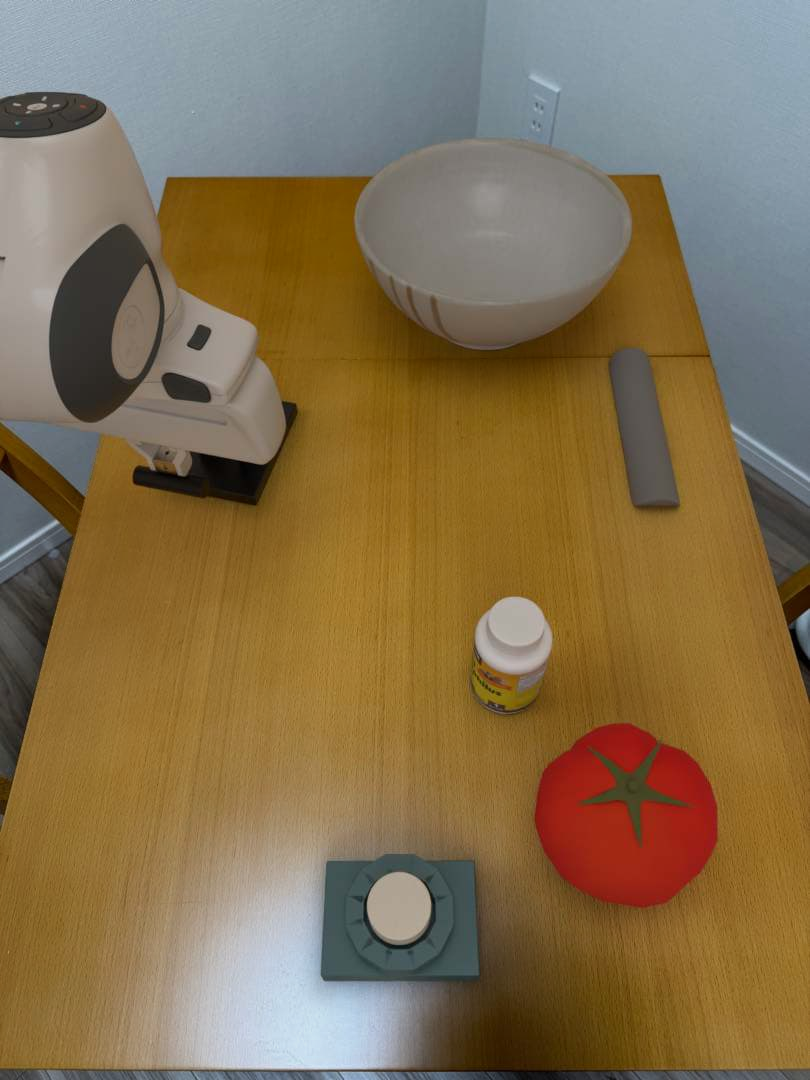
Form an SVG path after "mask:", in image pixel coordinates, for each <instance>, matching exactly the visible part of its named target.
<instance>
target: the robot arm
mask: <svg viewBox="0 0 810 1080" xmlns="http://www.w3.org/2000/svg"><path fill="white" fill-rule="evenodd" d="M162 245H163V235H162V231H161V226H160V223H159V219H158V216H157V212H156V209H155V206H154V202H153V199H152V197H151V194H150V190H149V188H148V185H147V182H146V179H145V177H144V174H143V172H142V169H141V166H140V163H139V162H138V159H137V157H136V154H135V152H134V149H133V147H132V145H131V143H130V141H129V139H128V136H127V135H126V132H125V131H124V129H123V127H122V124H121V123H120V121H119V120H118V118H117V117H116V115H115V113H114V112H113V111H112V109H111V108H110V107H109V106H108V105H107V104H106V103H105V102H103V101H101V100H99V99H97V98H93V97H91V96H89V95H87V94H84V93H77V92H65V91H64V92H63V91H30V92H29V91H25V92H24V93H18V94H15V95H7V96H4V97H1V98H0V421H5V422H6V421H9V422H31V423H32V422H33V423H41V424H45V425H52V426H57V427H62V428H68V429H73V430H78V431H82V432H83V431H84V432H88V433H92V434H98V435H104V436H109V437H114V438H120V439H123V440H124V441H125V443H126V444H127V445H128V446H129V447H131V448H132V449H133V450H134V451H135V452H137V454H139V455H140V456H142V457H143V458H144V459H146V462H147V464H148V467H150V469H151V470H153V471H160V472H166V473H170V474H174V475H179V476H184V477H185V476H186V475H187V473H188V471H189V469H190V468H191V465H192V458H191V455H190V452H189V451H193V452H198V453H203V454H208V455H214V456H219V457H224V458H229V459H235V460H240V461H245V462H250V463H255V464H261V465H263V464H266V463H267V462H269V461H270V460H271V459H272V458H273V457H274V456H275V454H276V453H277V451H278V449H279V447H280V445H281V442H282V440H283V437H284V434H285V430H286V420H285V415H284V410H283V406H282V402H281V401H282V398H281V396H280V395H281V394H280V392H279V389H278V385H277V383H276V380H275V378H274V376H273V374H272V372H271V370H270V368H269V367H268V366H267V364H266V363H265V361H263V360H262V359H261V358H260V357H259V356H257V355H256V352H257V349H258V346H259V343H260V338H259V332H258V330H257V328H256V326H255V325H254V324H253V323H251V322H250V321H248V320H246V319H244V318H242V317H239V316H237V315H234V314H232V313H230V312H227V311H225V310H222V309H221V308H218V307H216V306H213V305H211V304H209V302H205V301H204V300H202V299H200V298H198V297H197V296H194V295H193V294H192V293H190V292H188V291H187V290H184V289H183V288H180V287H178V284H177V281H176V279H175V277H174V275H173V273H172V272H171V270H170V269H169V267H168V266H167V264H166V263H165V260H164V259H163V254H162V247H163V246H162Z"/></svg>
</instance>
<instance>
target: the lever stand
mask: <svg viewBox="0 0 810 1080" xmlns="http://www.w3.org/2000/svg"><path fill="white" fill-rule="evenodd" d="M281 402H282V406H283V410H284V415H285V420H286V430H285V434H284V437H283V440H282V442H281V445H280V447H279V449H278V451H277V453H276V454H275V456H274V457H273V458H272V459H271V460H270V461H269V462H267V463H266V464H263V465H261V464H255V463H250V462H245V461H240V460H235V459H229V458H224V457H219V456H214V455H208V454H203V453H198V452H193V451H190V455H191V458H192V465H191V468H190V469H189V471H188V473H187V475H192V476H198V477H203V478H207V479H208V480H209V492H208V494H207V496H206V497H210V498H215V499H221V500H226V501H231V502H235V503H240V504H245V505H250V506H257V505H258V502H259V501H260V498H261V496H262V494H263V491H264V489H265V487H266V485H267V482H268V480H269V478H270V476H271V473H272V472H273V469H274V466H275V464H276V463H277V460H278V457H279V455H280V453H281V451H282V449H283V446H284V444H285V442H286V439H287V438H288V435H289V433H290V431H291V428H292V426H293V424H294V421H295V420H296V417H297V415H298V406H297V403H296V402H291V401H285V400H281Z"/></svg>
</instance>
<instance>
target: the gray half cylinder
mask: <svg viewBox="0 0 810 1080" xmlns="http://www.w3.org/2000/svg"><path fill="white" fill-rule="evenodd" d="M608 368H609V374H610V379H611V386H612V390H613V391H612V392H613V397H614V404H615V408H616V414H617V415H616V416H617V420H618V426H619V432H620V437H621V444H622V448H623V449H622V450H623V455H624V462H625V468H626V473H627V478H628V484H629V490H630V496H631V502H632V503H633V505H634V506H637V507H645V506H646V507H649V506H650V507H679V506H681V502H680V496H679V492H678V486H677V482H676V478H675V474H674V473H675V472H674V467H673V464H672V459H671V455H670V454H671V453H670V449H669V444H668V440H667V435H666V430H665V426H664V421H663V417H662V411H661V407H660V402H659V397H658V393H657V388H656V383H655V379H654V374H653V369H652V364H651V359H650V357H649V355H648V353H647V352H646V351H644V350H643V349H641V348H638V347H625V348H623V349H620V350H617V351H616V352H615V353H614V354H612V356H611V357H610V359H609V367H608Z"/></svg>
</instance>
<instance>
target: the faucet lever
mask: <svg viewBox="0 0 810 1080" xmlns="http://www.w3.org/2000/svg"><path fill="white" fill-rule="evenodd" d="M189 452H190V451H189ZM132 483H133V485H134V486H137V487H142V488H148V489H152V490H157V491H162V492H168V493H171V494H178V495H183V496H187V497H188V496H189V497H191V498H192V497H193V498H198V499H202V500H203V499H205V498H207V497H208V496H207V494H208V492H209V480H208V479H207V478H203V477H198V476H192V475H186V476H185V477H184V476H179V475H174V474H170V473H166V472H160V471H153V470H151V469H150V467H149V466H146V465H141V464H138V465H136V466H135V467H134V469H133V472H132Z"/></svg>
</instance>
